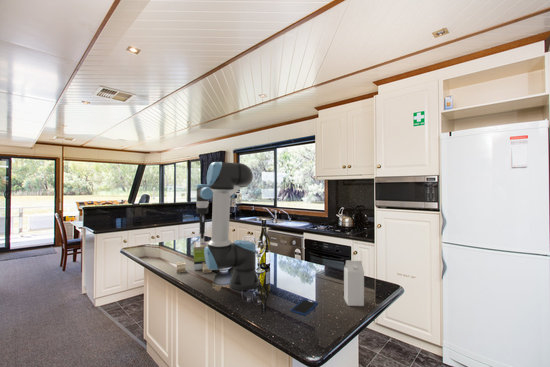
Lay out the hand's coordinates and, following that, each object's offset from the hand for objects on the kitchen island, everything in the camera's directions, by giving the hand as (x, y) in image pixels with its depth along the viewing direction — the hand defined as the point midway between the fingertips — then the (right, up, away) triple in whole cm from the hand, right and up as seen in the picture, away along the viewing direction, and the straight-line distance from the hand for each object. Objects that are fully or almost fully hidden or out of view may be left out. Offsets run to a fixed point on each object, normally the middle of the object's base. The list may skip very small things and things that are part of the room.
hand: (201, 243), depth 169 cm
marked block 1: (-10, -15, -11) cm, 21 cm away
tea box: (0, -15, 0) cm, 15 cm away
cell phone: (+61, -15, -58) cm, 86 cm away
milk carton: (+84, -15, -53) cm, 101 cm away
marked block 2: (+6, -15, -11) cm, 20 cm away
